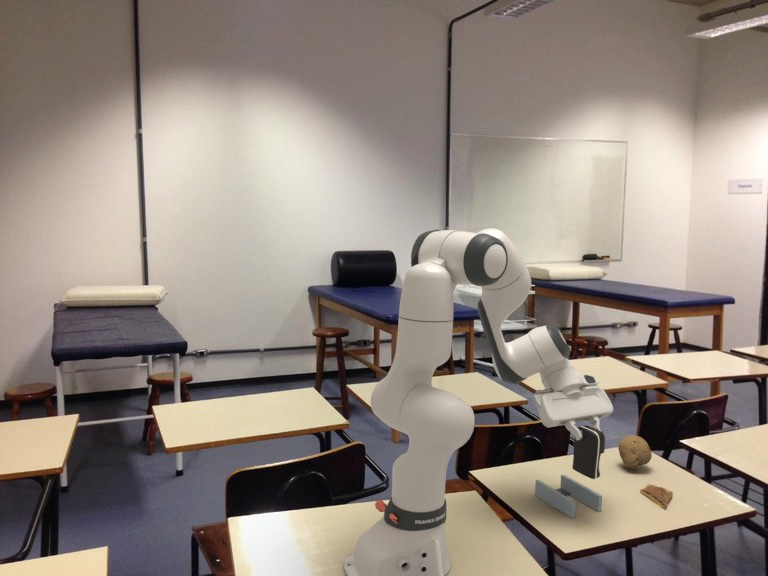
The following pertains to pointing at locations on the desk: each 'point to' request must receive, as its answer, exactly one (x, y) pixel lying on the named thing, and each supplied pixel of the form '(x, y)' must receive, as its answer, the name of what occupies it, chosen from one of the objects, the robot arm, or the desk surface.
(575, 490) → the channel
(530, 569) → the desk surface
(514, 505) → the desk surface
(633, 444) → the brown potato
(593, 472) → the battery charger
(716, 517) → the desk surface
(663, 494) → the shard
